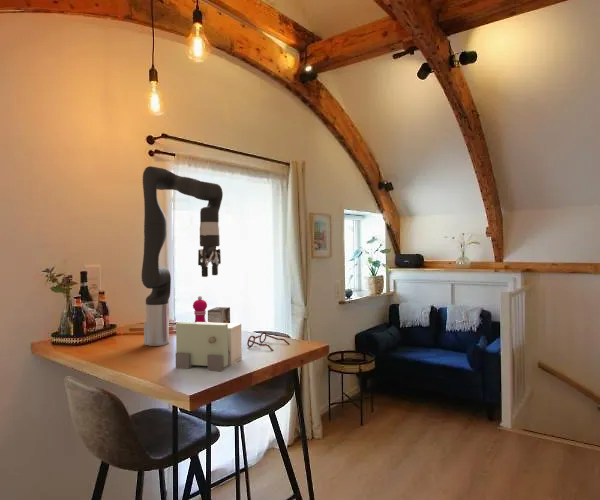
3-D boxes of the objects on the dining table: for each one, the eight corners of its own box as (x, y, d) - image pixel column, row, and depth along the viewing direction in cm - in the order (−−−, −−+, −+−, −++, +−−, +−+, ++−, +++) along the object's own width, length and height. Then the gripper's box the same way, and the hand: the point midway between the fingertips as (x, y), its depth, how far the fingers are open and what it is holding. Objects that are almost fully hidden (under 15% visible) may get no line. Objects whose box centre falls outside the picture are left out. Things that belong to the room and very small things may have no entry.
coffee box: (216, 344, 181) (216, 306, 181) (230, 345, 180) (230, 307, 180) (207, 349, 172) (207, 310, 172) (222, 350, 171) (222, 310, 171)
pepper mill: (188, 342, 185) (187, 296, 185) (198, 339, 192) (197, 294, 192) (202, 344, 183) (202, 297, 183) (211, 340, 189) (211, 295, 189)
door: (173, 364, 147) (173, 324, 147) (180, 361, 151) (180, 321, 151) (222, 368, 142) (221, 326, 142) (228, 364, 147) (227, 323, 147)
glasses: (264, 342, 187) (264, 330, 187) (290, 345, 181) (290, 333, 181) (246, 348, 176) (246, 336, 176) (273, 352, 169) (272, 339, 169)
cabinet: (174, 367, 147) (174, 329, 147) (197, 356, 162) (197, 321, 162) (222, 371, 142) (222, 332, 142) (241, 359, 158) (241, 323, 158)
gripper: (209, 234, 174) (209, 274, 174) (191, 233, 160) (192, 277, 160) (226, 234, 172) (226, 275, 172) (210, 233, 158) (210, 277, 158)
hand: (209, 276), depth 166 cm, fingers open, 8 cm apart
